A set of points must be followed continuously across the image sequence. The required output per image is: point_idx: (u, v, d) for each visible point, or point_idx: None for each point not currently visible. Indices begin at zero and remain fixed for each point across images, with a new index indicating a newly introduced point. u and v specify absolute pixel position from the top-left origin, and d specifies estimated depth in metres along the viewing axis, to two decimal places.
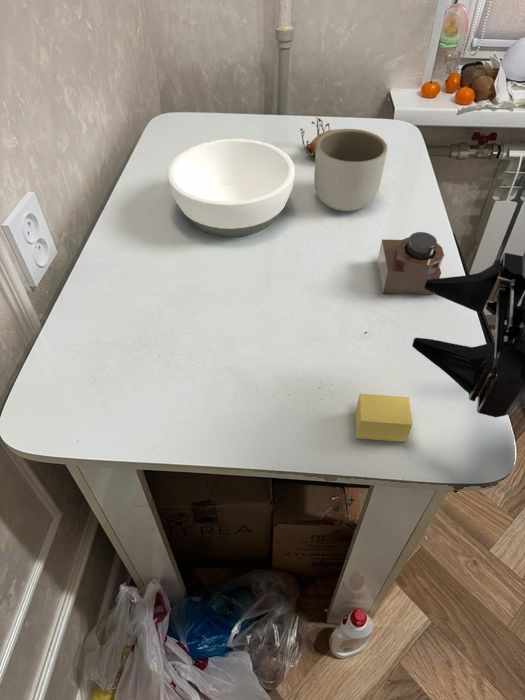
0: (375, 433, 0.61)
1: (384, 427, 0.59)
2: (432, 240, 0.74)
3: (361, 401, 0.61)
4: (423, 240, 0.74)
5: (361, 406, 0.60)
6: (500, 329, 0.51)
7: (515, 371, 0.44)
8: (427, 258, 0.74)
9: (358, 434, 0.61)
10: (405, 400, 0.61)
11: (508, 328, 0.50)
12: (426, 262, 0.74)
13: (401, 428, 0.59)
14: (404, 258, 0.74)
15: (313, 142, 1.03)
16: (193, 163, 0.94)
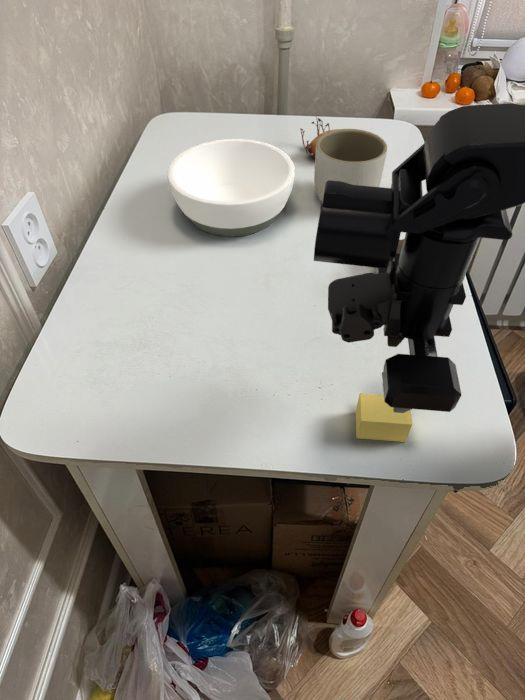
0: (375, 433, 0.61)
1: (384, 427, 0.59)
2: None
3: (361, 401, 0.61)
4: None
5: (361, 406, 0.60)
6: None
7: (386, 387, 0.44)
8: None
9: (358, 434, 0.61)
10: None
11: None
12: None
13: (401, 428, 0.59)
14: None
15: (313, 142, 1.03)
16: (193, 163, 0.94)
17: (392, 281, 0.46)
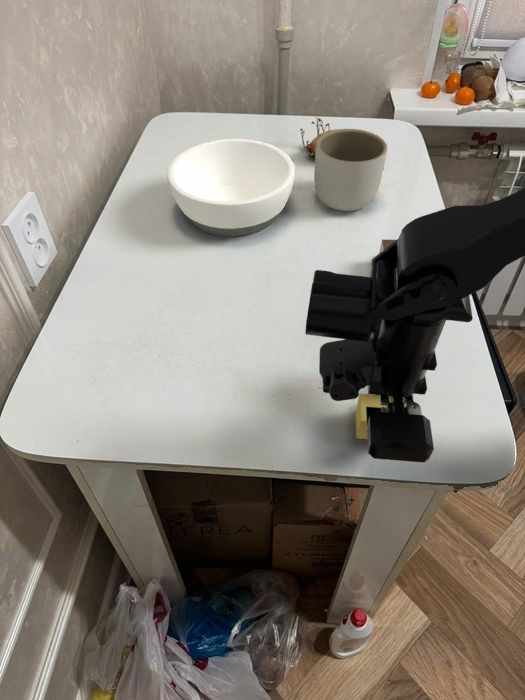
0: None
1: None
2: None
3: (361, 401, 0.61)
4: None
5: (361, 406, 0.60)
6: None
7: (369, 441, 0.50)
8: None
9: (358, 434, 0.61)
10: None
11: (385, 404, 0.54)
12: None
13: None
14: None
15: (313, 142, 1.03)
16: (193, 163, 0.94)
17: (374, 347, 0.53)
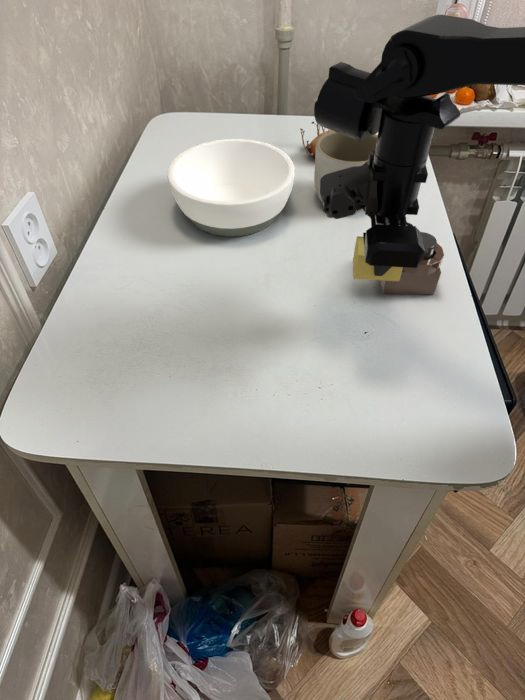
0: (371, 271, 0.65)
1: None
2: (432, 240, 0.74)
3: (358, 241, 0.65)
4: (423, 240, 0.74)
5: (358, 245, 0.65)
6: None
7: (366, 249, 0.55)
8: (427, 258, 0.74)
9: (355, 273, 0.66)
10: None
11: (380, 225, 0.58)
12: (426, 262, 0.74)
13: None
14: None
15: (313, 142, 1.03)
16: (193, 163, 0.94)
17: (371, 169, 0.57)
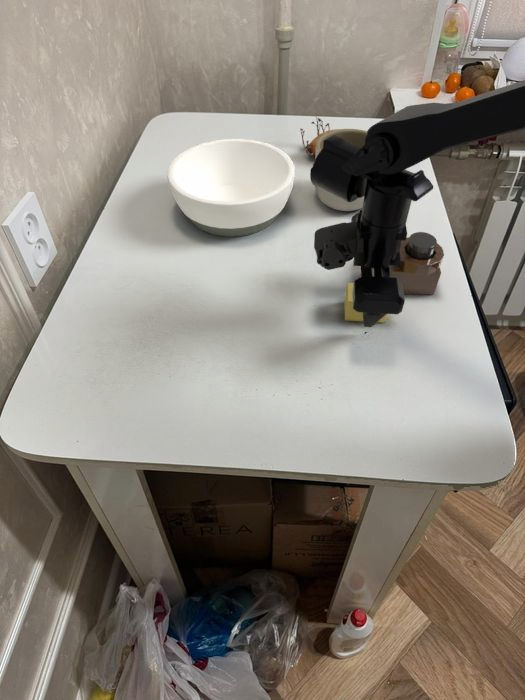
0: (360, 314, 0.74)
1: None
2: (432, 240, 0.74)
3: (348, 288, 0.74)
4: (423, 240, 0.74)
5: (348, 291, 0.73)
6: None
7: (354, 297, 0.63)
8: (427, 258, 0.74)
9: (346, 316, 0.74)
10: None
11: None
12: (426, 262, 0.74)
13: None
14: (404, 258, 0.74)
15: (313, 142, 1.03)
16: (193, 163, 0.94)
17: (358, 226, 0.65)
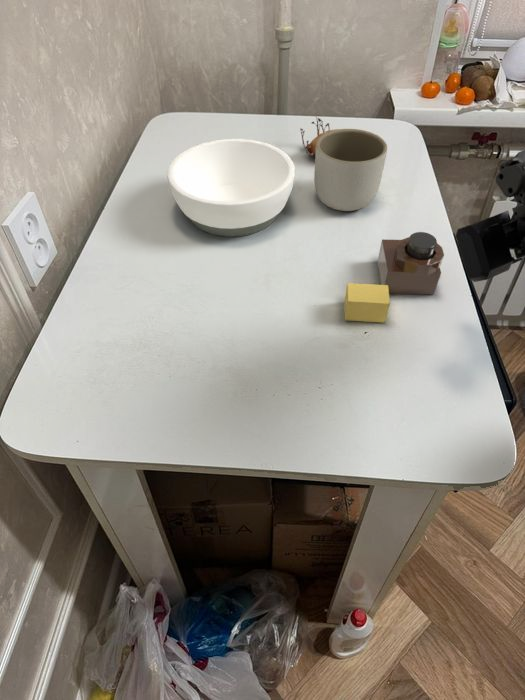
0: (360, 314, 0.74)
1: (367, 307, 0.73)
2: (432, 240, 0.74)
3: (348, 288, 0.74)
4: (423, 240, 0.74)
5: (348, 291, 0.73)
6: None
7: (470, 224, 0.54)
8: (427, 258, 0.74)
9: (346, 316, 0.74)
10: (384, 287, 0.74)
11: None
12: (426, 262, 0.74)
13: (381, 308, 0.73)
14: (404, 258, 0.74)
15: (313, 142, 1.03)
16: (193, 163, 0.94)
17: None
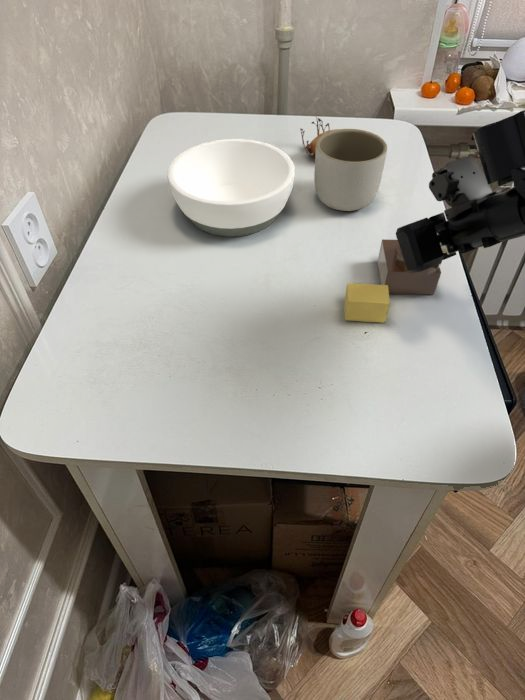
0: (360, 314, 0.74)
1: (367, 307, 0.73)
2: None
3: (348, 288, 0.74)
4: None
5: (348, 291, 0.73)
6: None
7: None
8: None
9: (346, 316, 0.74)
10: (384, 287, 0.74)
11: None
12: None
13: (381, 308, 0.73)
14: None
15: (313, 142, 1.03)
16: (193, 163, 0.94)
17: (485, 197, 0.62)
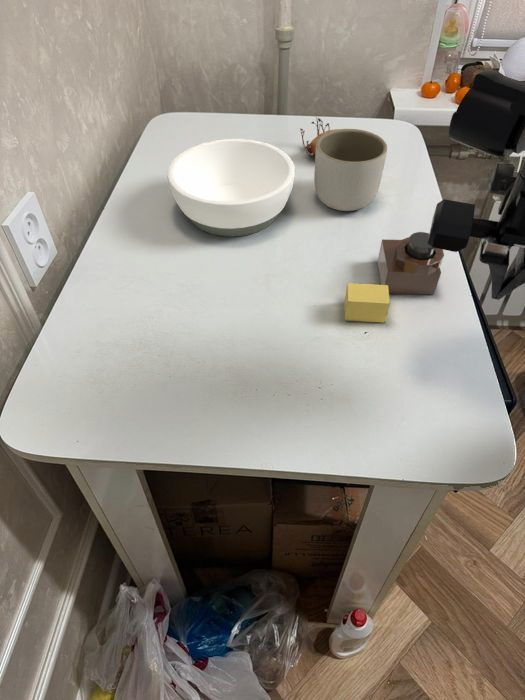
0: (360, 314, 0.74)
1: (367, 307, 0.73)
2: None
3: (348, 288, 0.74)
4: (423, 240, 0.74)
5: (348, 291, 0.73)
6: None
7: None
8: (427, 258, 0.74)
9: (346, 316, 0.74)
10: (384, 287, 0.74)
11: None
12: (426, 262, 0.74)
13: (381, 308, 0.73)
14: (404, 258, 0.74)
15: (313, 142, 1.03)
16: (193, 163, 0.94)
17: None
